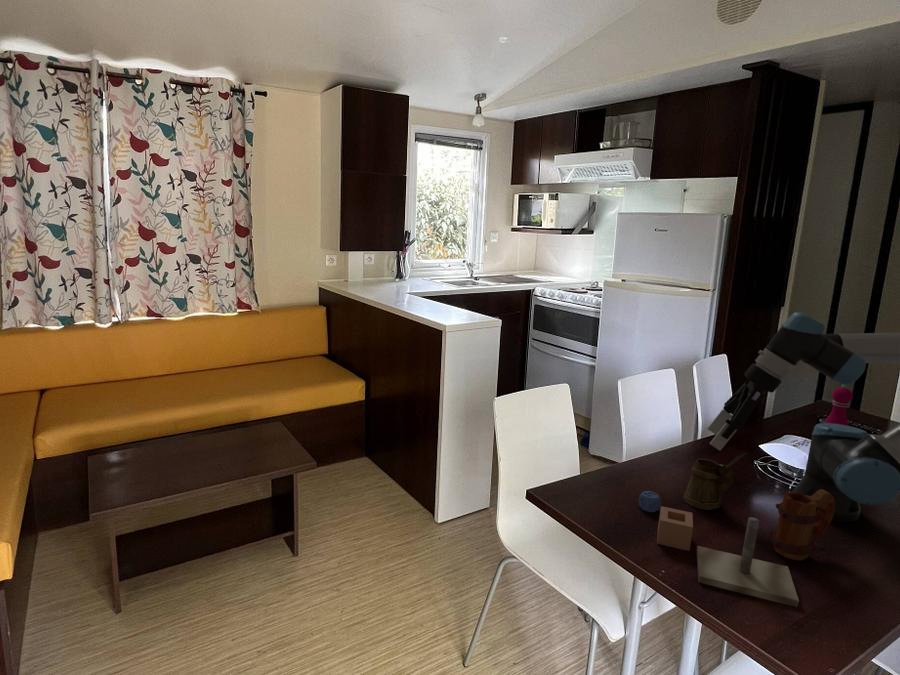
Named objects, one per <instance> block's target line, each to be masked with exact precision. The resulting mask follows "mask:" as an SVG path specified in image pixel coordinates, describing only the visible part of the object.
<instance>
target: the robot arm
mask: <svg viewBox="0 0 900 675" xmlns="http://www.w3.org/2000/svg"><path fill="white" fill-rule="evenodd" d="M825 330H826V326H825V324H823V323H821V322H820V321H818V320H816V319H815V318H813V317H811V316H809V315H807V314H806V313H804V312H802V311H795V312H793V313H791V315H790V316H789V317H788V318H787V319H786V320H785V322H783V324H781V327H779V329H778V330H777V331H776V333H775V334H774V336H773V337H772V338H771V340H770V341H769V343H768V344H767V345H766V346H765V348H764V349H763V350H759V351H758V354H759V355H758V356H757V358H755V359H754V361H755V363H752V364H750V365H749V367H748V368H747V369H746V371H745V372H744V376H745V378H746V380H745V381H744V383H743V384H742V385H741V386H740V387H739V388H738V389H737V390H736V391H735V392H734V393H733V394H732V395H731V396H730V398H729V399H728V400H726V402H724V405H723V409H721V410H720V411H719V413H718V414H717V416H716V417H714V419H713V421H712V422H711V423H710V424H709V426H707V428H706V429H707V430H708V431H709V432H711V433H712V434H714V435H715V436H714V437H713V438H712V440H711V441H710V442H709V445H710V446H712V447H714V448H715V449H716V450H718V451H721V450H722V449H723V448H724V447H725V446H726V445H727V443H728V442H729V441H730V439H731V438H732V437H733V436H734V434H736V432H737V431H738V430H743V428H744V426H745V424H746V422H747V421H748V419H750V416H751V415H752V414H753V412H754V411H755V409H756V407H757V406H758V404H759V402H760V401H761V400H762V399H763V398H764V394H762V392H763V391H764V390H765V391H767V392H768V393H771V394H772V393H775V391H776V389H777V388H778V387H779V386H780V385H781V384H782V379H783V380H784V379H786V378H787V377H788V376H789V374H790V373H791V372H792V371H793V369H794V368H795V367H796V366H797V365H798V363H799V362H800V361H801V362H803V363H804V364H807V365H808V366H810V367H812V368H813V369H814V370H816V371H818V372H819V373H822V374H823V375H824V376H826V377H828V378H829V379H831V380H832V381H835V382H836V383H837V384H838V383H839V384H840V385H842V384H843V385H847V386H848V385H850V384H854V382H856V381H857V380H858V379H860V377H861V376H862V375H863V374H864V372H865V370H866V366H867V365H866V364H900V332H869V333H868V332H866V333H865V332H863V333H858V332H857V333H824V332H825ZM809 444H810V445H809V449H808V450H809V451H808V454H807V455H808V456H807V459H806V460H807V462H806V467H805V471H804V475H803V477H802V478H801V479H800V480H799V482H798V484H797V485H796V487H795V488H794V490H793V492H792V493H794V492H799V493H802V494H803V495H805V496H806V495H808V496H812V495H813V494H815V493H816V492H817V491H818V490H820V489H823V490H825V491H827V492H829V493H830V494H832V496H833V498H834V501H835V512H834V515H833V518H832V520H831V521H833V522H839V523H850V522H852V523H853V522H856V521H857V520H859V518H860V514H861V504H862V505H867V506H876V505H882V504H886V503H889V502H890V501H892V500H894V499H895V498H896V497H897V496H898V495H899V493H900V423H897V425H895V426H894V427H892V428H890V429H888V430H887V431H886V432H884V433H882V434H871V433H868V432H867V431H866V430H863V429H861V428H858V427H854V426H852V425H851V426H850V425H848V426H846V425H840V424H833V423H825V422H820V423H817V424H815V426H813V430H812V433H811V440H810V443H809ZM818 509H819V507H816V511H817V512H818Z"/></svg>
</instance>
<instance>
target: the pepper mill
mask: <svg viewBox="0 0 900 675" xmlns="http://www.w3.org/2000/svg"><path fill="white" fill-rule="evenodd" d="M840 385H841V387H837V388H835V389H834V390H833V391H832V394H831V396H832V398H833V399H832V410H831V412H830V414H829V415H828V416H827V417H826V419H825V421H824V423H833V424H840V425H846V426H849V421H848V418H847V409H848V408H849V407H850V402H851V401H852V400H853V397H854V395H853V392H852V391H851V390H850V389H848V385H843V384H840Z"/></svg>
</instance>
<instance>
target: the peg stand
mask: <svg viewBox="0 0 900 675" xmlns="http://www.w3.org/2000/svg"><path fill="white" fill-rule="evenodd" d="M759 524H760V519H758V518H756V517H752V516H749V517H748V518H747V524H746V530H745V535H744V543H743V547H742V552H741V555H739V554H735V553H731V552H726V551H722V550H716V549H713V548H709V547H704V546H699V545H697V546H696V563H697V577H698V578H697V579H698V580H697V581H698V583H700V584H703V585H706V586H707V585H708V586H712V587H715V588H719V589H724V590H728V591H731V592H735V593H740V594H743V595H746V596H751V597H755V598H758V599H763V600H767V601H771V602H776V603H780V604H782V605H787V606H791V607H795V608H798V607H799V602H800V600H799V596H798V594H797V593H798V592H797V590H796V587H795V584H794V581H793V579H792V578H793V577H792V575H791V572H790V568H789V566H787V565H782V564H778V563H774V562H769V561H765V560H760V559H757V558H753V557H754V552H755V547H756V542H757V536H758V530H759Z"/></svg>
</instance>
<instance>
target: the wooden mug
mask: <svg viewBox="0 0 900 675" xmlns="http://www.w3.org/2000/svg"><path fill="white" fill-rule="evenodd" d="M747 453H748V452H747V450H743V451H741V452H740V453H739V454H737V455H736V456H734V457H733V458H731V459H730V460H728V461H727V462H726V463H724V464H720V463H718V462H716V461H714V460H712V459H708V458H707V459H706V458H697V459H695V461H694V464H693V465H692V467H691V475H690V478H689V480H688V484H687V487H686V490H684V493H683V497H682V498H683V501H684V502H685V503H686V504H687V505H690V506H691V507H693V508H697V509H701V510H704V511H705V510H706V511H713V510H717V509H719V508H720V507H721V504H722V499H721V496H722V495H723V493H724V492H725V491H727V490H728V489H729V488H730V486H731V485H732V484H733V480H734V475H733V471H732V468H731V467H732V466H733V465H734V464H735V463H736V462H737V461H739V460H740V459H742V458H743V457H745V455H746V454H747ZM722 477H724V482H722V483H720V479H721V478H722Z"/></svg>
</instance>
